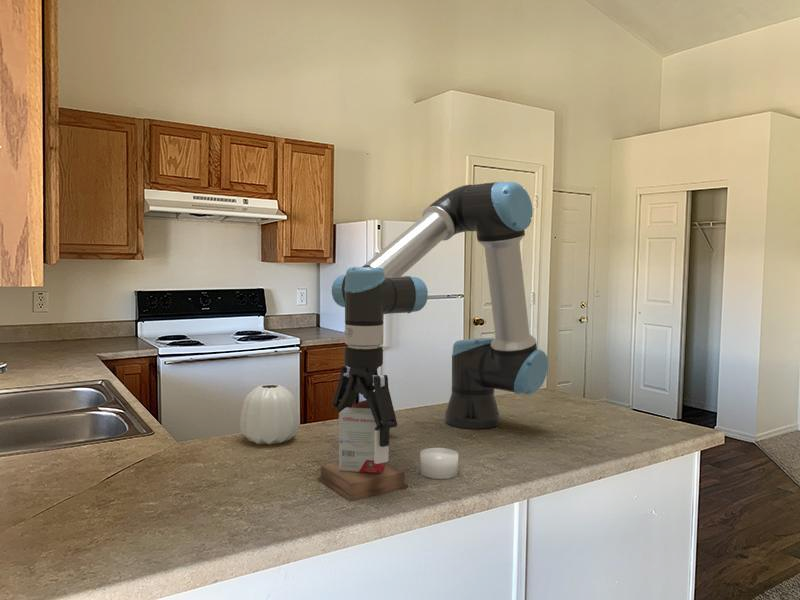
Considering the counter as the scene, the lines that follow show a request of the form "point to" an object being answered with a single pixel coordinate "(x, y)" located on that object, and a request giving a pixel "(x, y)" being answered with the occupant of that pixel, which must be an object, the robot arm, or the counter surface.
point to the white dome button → (439, 463)
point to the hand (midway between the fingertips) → (362, 452)
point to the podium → (361, 481)
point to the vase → (269, 415)
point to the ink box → (357, 441)
